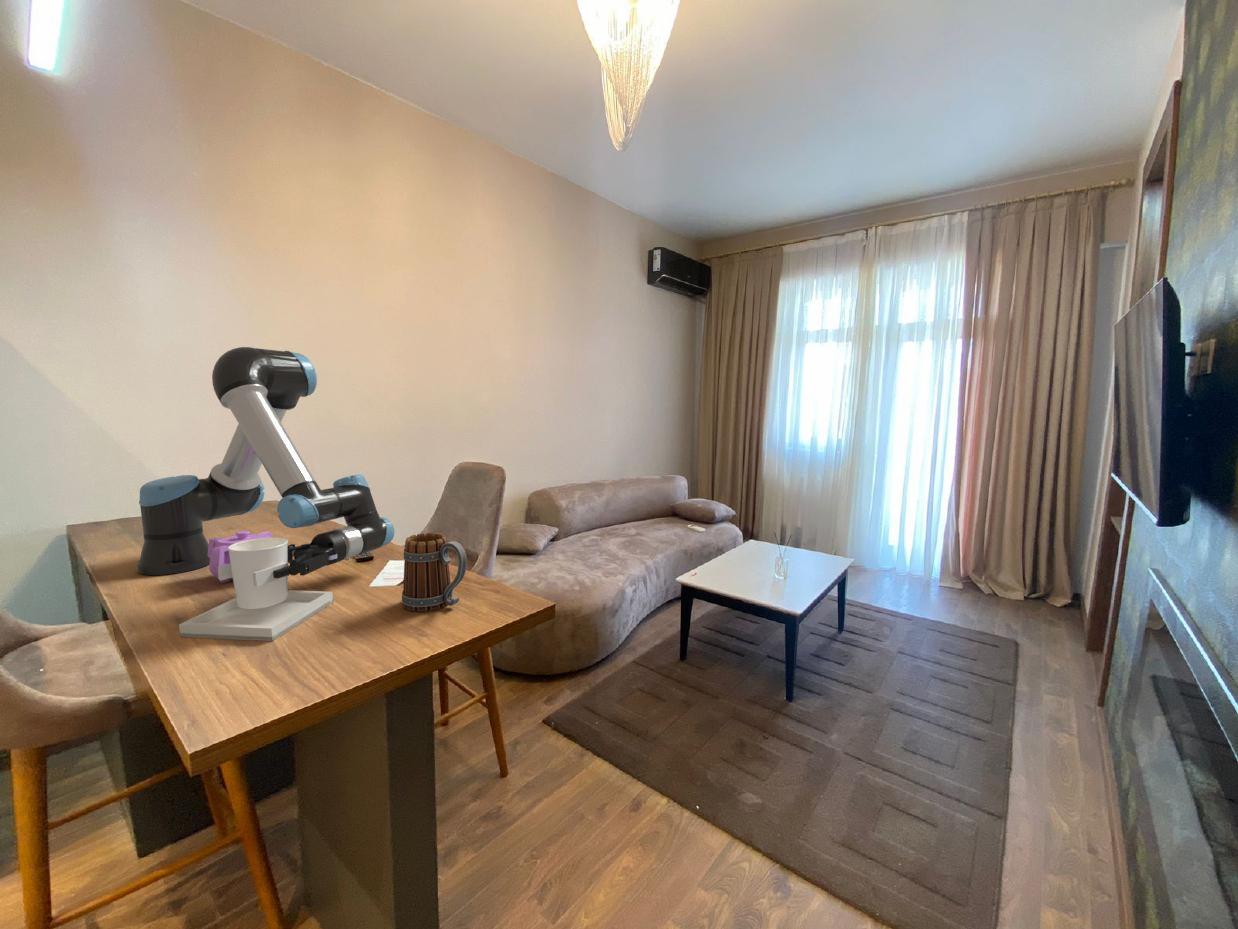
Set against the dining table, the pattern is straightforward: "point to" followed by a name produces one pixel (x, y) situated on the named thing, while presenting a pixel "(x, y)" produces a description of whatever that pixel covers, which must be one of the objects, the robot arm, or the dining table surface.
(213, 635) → the tray
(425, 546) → the mug
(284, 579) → the white tapered cylinder
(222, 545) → the pot
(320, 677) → the dining table surface
